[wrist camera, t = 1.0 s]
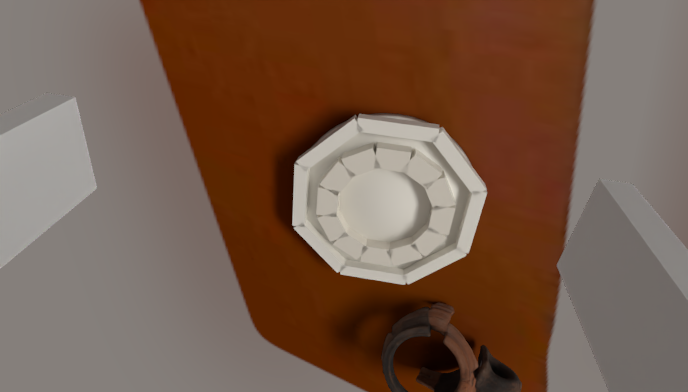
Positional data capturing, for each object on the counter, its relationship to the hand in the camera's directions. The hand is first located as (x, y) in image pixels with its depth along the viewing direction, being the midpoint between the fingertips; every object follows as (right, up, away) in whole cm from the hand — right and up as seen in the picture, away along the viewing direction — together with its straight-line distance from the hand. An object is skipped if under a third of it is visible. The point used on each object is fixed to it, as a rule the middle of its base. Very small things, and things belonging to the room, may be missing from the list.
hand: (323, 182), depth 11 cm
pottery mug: (+10, -14, +30) cm, 35 cm away
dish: (+4, -1, +23) cm, 23 cm away
